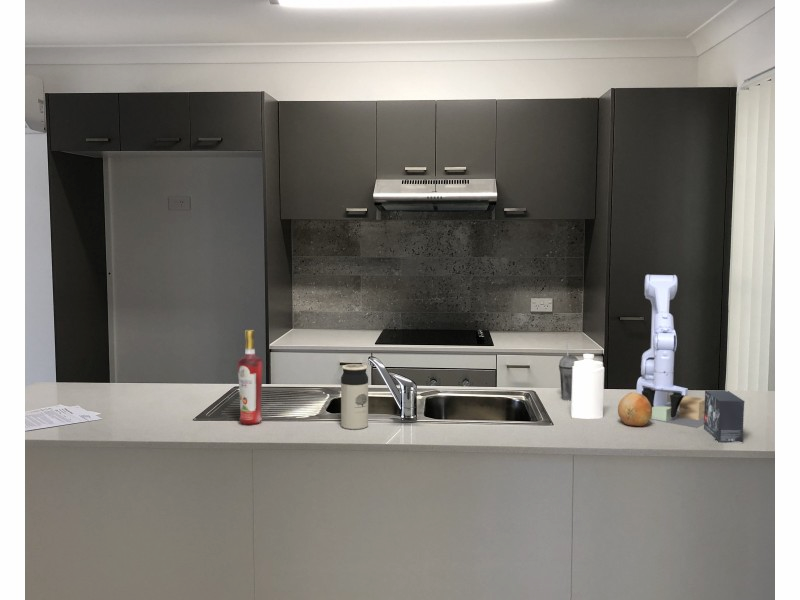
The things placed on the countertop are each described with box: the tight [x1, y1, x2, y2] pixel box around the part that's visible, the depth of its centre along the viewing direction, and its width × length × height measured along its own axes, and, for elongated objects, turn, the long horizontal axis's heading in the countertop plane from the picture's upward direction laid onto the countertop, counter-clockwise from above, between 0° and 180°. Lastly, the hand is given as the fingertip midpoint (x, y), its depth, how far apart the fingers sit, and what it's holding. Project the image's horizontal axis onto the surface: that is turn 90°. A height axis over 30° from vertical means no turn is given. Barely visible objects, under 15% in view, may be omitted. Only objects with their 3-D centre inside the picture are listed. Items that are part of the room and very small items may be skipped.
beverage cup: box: [558, 342, 579, 402], centre depth 247 cm, size 7×7×20 cm
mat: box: [649, 410, 704, 429], centre depth 221 cm, size 15×17×1 cm
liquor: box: [237, 329, 264, 426], centre depth 212 cm, size 7×7×28 cm
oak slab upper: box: [678, 395, 705, 411], centre depth 223 cm, size 6×6×3 cm
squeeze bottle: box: [570, 353, 605, 420], centre depth 222 cm, size 10×20×5 cm
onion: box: [617, 392, 652, 427], centre depth 213 cm, size 10×10×10 cm
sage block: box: [651, 405, 672, 421], centre depth 220 cm, size 4×4×4 cm
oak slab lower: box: [678, 407, 704, 420], centre depth 223 cm, size 6×6×3 cm
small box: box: [703, 390, 745, 443], centre depth 202 cm, size 13×7×12 cm, turn 174°
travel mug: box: [340, 363, 369, 430], centre depth 210 cm, size 8×8×18 cm
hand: (661, 414), depth 220 cm, fingers open, 6 cm apart
